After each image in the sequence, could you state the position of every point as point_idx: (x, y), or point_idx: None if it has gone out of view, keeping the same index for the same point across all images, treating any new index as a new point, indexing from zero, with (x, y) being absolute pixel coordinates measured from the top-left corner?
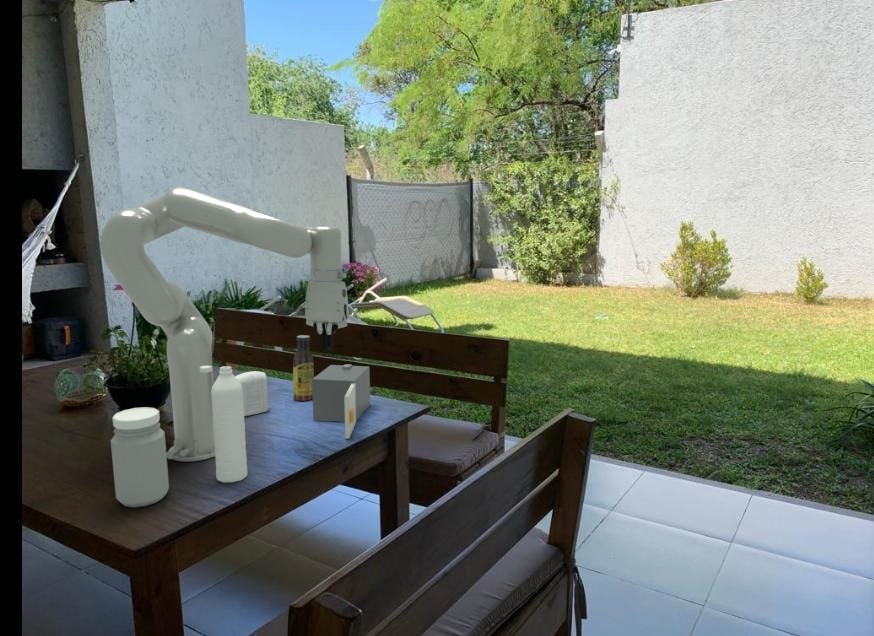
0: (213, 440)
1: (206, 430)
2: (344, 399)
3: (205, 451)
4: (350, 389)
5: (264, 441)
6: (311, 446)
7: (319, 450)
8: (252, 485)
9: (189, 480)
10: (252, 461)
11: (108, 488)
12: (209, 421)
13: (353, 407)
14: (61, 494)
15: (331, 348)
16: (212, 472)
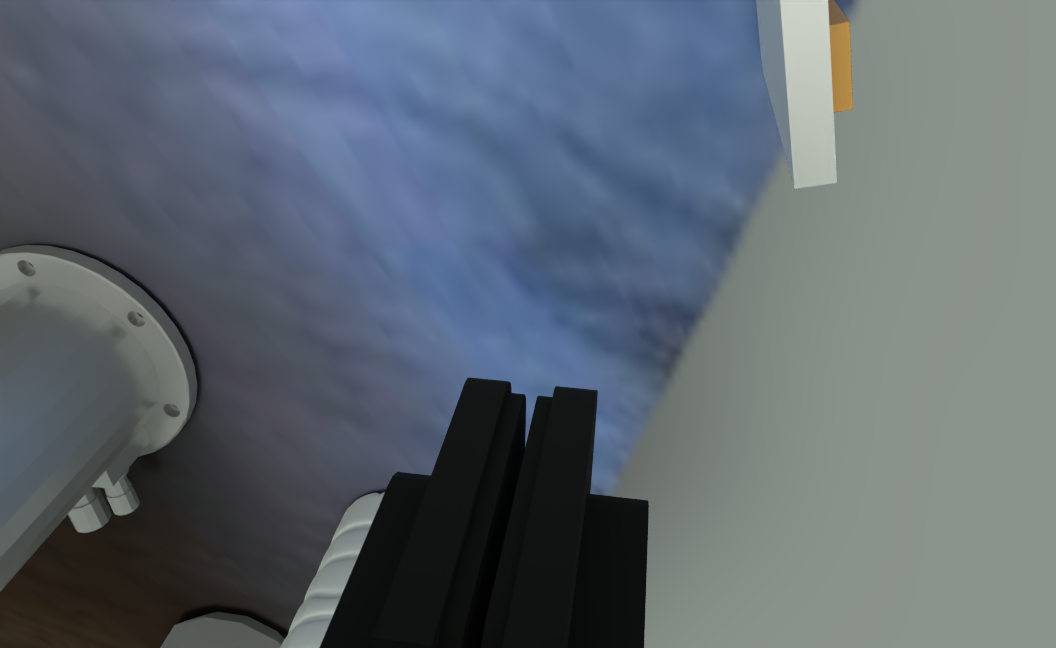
0: (131, 400)
1: (94, 473)
2: (792, 177)
3: (152, 414)
4: None
5: (275, 178)
6: (575, 202)
7: (645, 248)
8: None
9: (276, 561)
10: (383, 408)
11: (94, 613)
12: (68, 487)
13: None
14: (18, 642)
15: (595, 411)
16: (302, 506)
